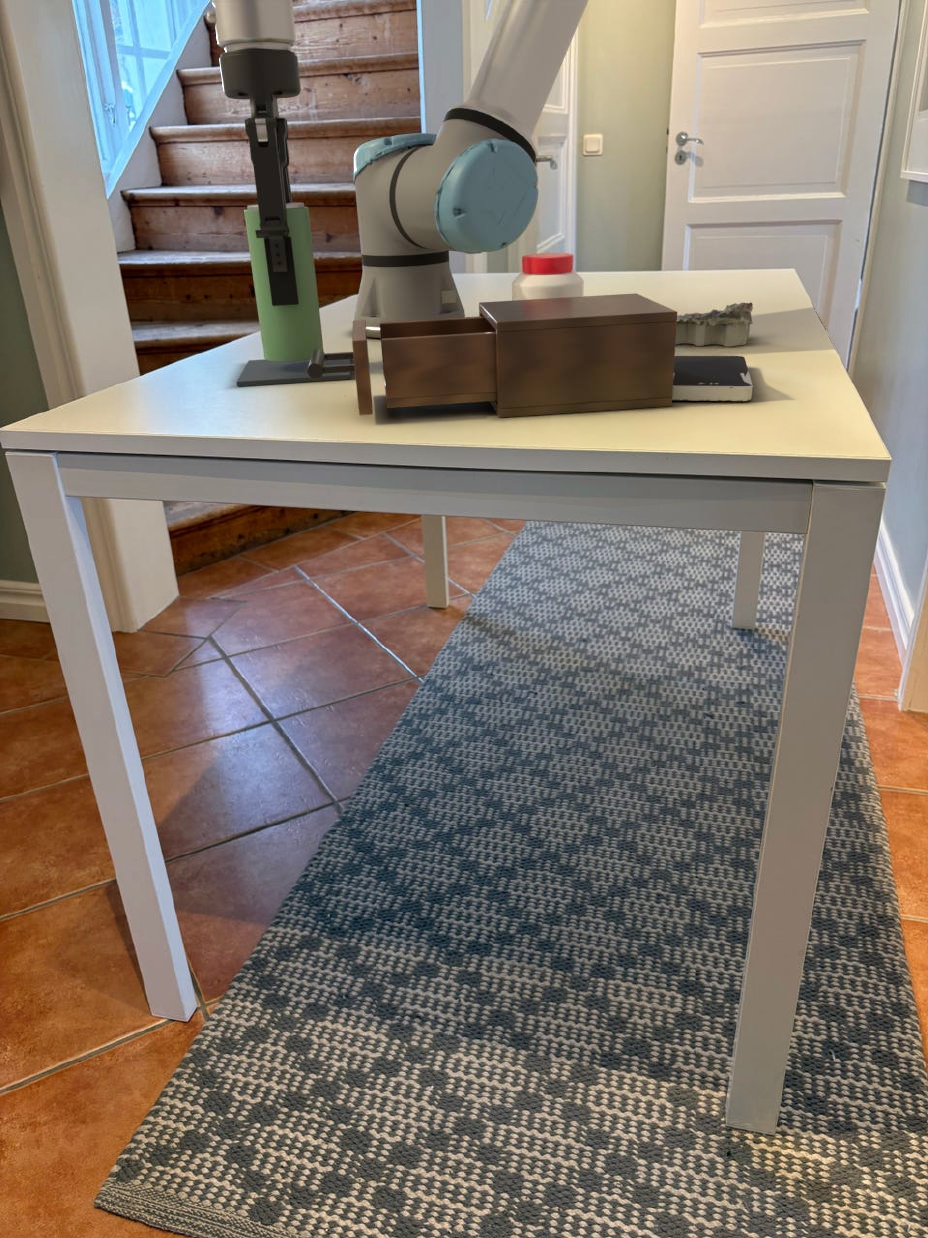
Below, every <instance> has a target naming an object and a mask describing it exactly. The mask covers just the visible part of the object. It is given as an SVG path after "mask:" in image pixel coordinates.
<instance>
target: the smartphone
mask: <svg viewBox="0 0 928 1238" xmlns="http://www.w3.org/2000/svg"><path fill="white" fill-rule="evenodd" d="M753 385H754V384H753V382H752V379H751V375H750V372H749V368H748V365H747V361H746V358H745V356H743V355H675V359H674V375H673V391H672V401H693V402H694V401H702V402H703V401H705V402H706V401H708V402H709V401H710V402H747V401H751V400H752V395H753Z"/></svg>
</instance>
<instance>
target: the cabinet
mask: <svg viewBox="0 0 928 1238" xmlns="http://www.w3.org/2000/svg"><path fill="white" fill-rule="evenodd" d="M479 316H484V317H485V318H486V319H487V320H488V322H489V323H490V324H491V325H492V326H493V327H494V329H495V330H496V363H497V401H489V403H490V404H491V406H492V408H493V410H494V412H495V413H496V415H497V417H498V418H499V419H502V418H517V417H529V416H544V415H547V416H548V415H560V414H561V415H562V414H575V413H591V412H604V411H619V410H633V409H649V408H650V409H651V408H662V407H664V408H665V407H672V405H673V400H672V391H673V375H674V359H675V356H676V345H677V344H676V328H677V316H678V311H677V310H674V309H672V308H670V307H668V306H665V305H663V304H661V303H659V302H657V301H655V300H652V299H650V298H648V297H646V296H643V295H641V294H639V293H619V294H603V295H602V294H601V295H588V296H587V295H584V296H583V297H566V298H548V299H531V300H514V301H512V300H499V301H484V302H483V301H482V302H478V317H479Z"/></svg>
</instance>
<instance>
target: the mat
mask: <svg viewBox="0 0 928 1238" xmlns="http://www.w3.org/2000/svg"><path fill="white" fill-rule="evenodd" d="M308 364H309V360H304V361H294V362H274V361H268V360H266V359H265V358H264V359H253V360H252V359H250V360H248V361H247V363H246V364H245V366H244V368H243V370H242V371H241V373H240V375H239V377H238V378H237V380H236V382H235V383H236V387H249V386H266V385H282V384H283V385H284V384H299V383H300V384H301V383H311V382H312V383H314V382H329V381H344V380H345V381H346V380H351V374H352V372H345V373H329V374H324V372H323V375H322V377H321V378H319V379H312V378H310V377H309V376H308V374H307V368H308ZM345 364H352V359H347V360H331V361H326V359H325V365H324V366H329V365H345Z"/></svg>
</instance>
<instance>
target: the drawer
mask: <svg viewBox="0 0 928 1238" xmlns="http://www.w3.org/2000/svg"><path fill="white" fill-rule="evenodd" d="M379 324H380V336H381V338H380V346H381V347H380V348H381V349H380V350H381V360H382V371H383V385H384V392H385V400H386V407H387V409H392V408H407V407H408V408H409V407H423V406H441V405H453V404H454V405H455V404H467V403H468V404H469V403H483V402H484V403H485V402H490V401H497V363H496V330H495V329H494V327H493V326H492V325H491V324H490V323H489V322H488V320H487V319H486V318H485V317H484V316H479V315H478V316H465V317H462V318H445V319H428V320H412V321H395V322H380V323H379ZM351 335H352V336H351V341H352V342H351V343H352V344H351V345H352V351H343V352H342V351H341V352H340V351H339V352H327V353H325V351H324V352H323V351H322V350H320V349H315V350H314V351H312V353H311V356H310V360H309V364H308V368H307V374H308V376H309V377H310V378H312V379H319V378H321V377H322V375H323V372H324V374H329V373H345V372H351V373H354V376H355V388H356V397H357V407H358V415H359V416H367V415H369V416H370V415H374V409H373V394H372V380H371V368H370V357H369V345H368V337H367V333H366V321H365V320H355V321H354V320H352V333H351ZM325 359H326V361H331V360H347V359H351V360H353V363H351V364H345V365H329V366H324V365H325Z"/></svg>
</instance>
